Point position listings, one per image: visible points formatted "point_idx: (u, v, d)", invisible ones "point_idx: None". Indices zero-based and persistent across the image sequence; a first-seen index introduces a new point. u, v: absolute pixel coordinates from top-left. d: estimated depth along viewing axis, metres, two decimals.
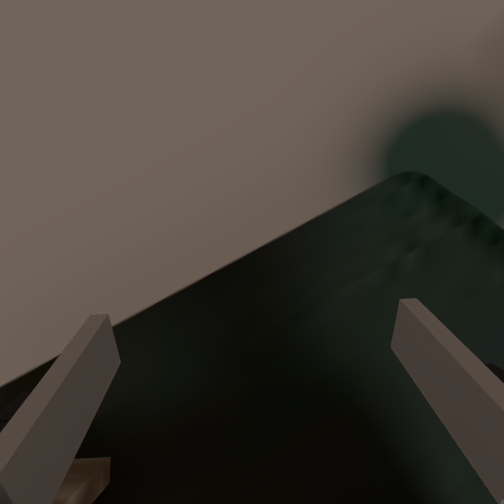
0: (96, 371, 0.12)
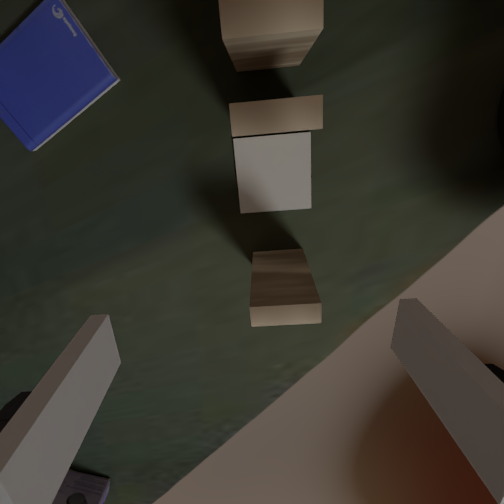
0: (96, 371, 0.12)
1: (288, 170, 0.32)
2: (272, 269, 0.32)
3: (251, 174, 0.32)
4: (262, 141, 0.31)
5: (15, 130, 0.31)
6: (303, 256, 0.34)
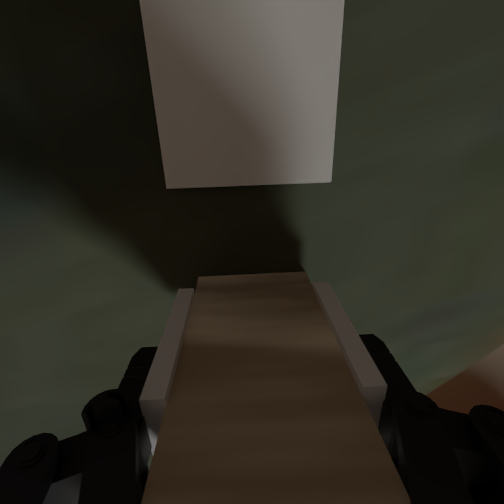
0: None
1: (283, 81, 0.13)
2: (238, 331, 0.12)
3: (190, 88, 0.13)
4: None
5: None
6: (311, 293, 0.15)
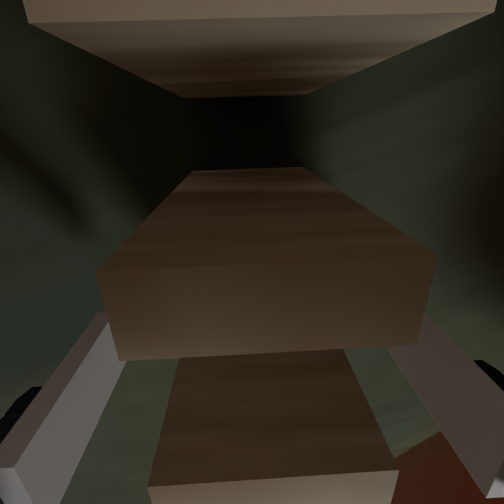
0: (104, 367, 0.12)
1: None
2: None
3: None
4: None
5: None
6: None
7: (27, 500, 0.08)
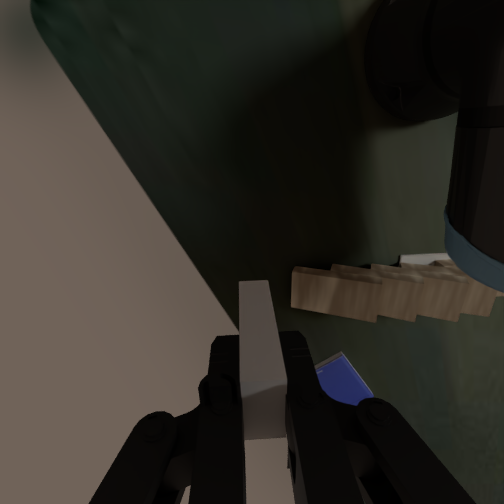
0: None
1: None
2: None
3: None
4: None
5: None
6: None
7: (262, 410, 0.10)
